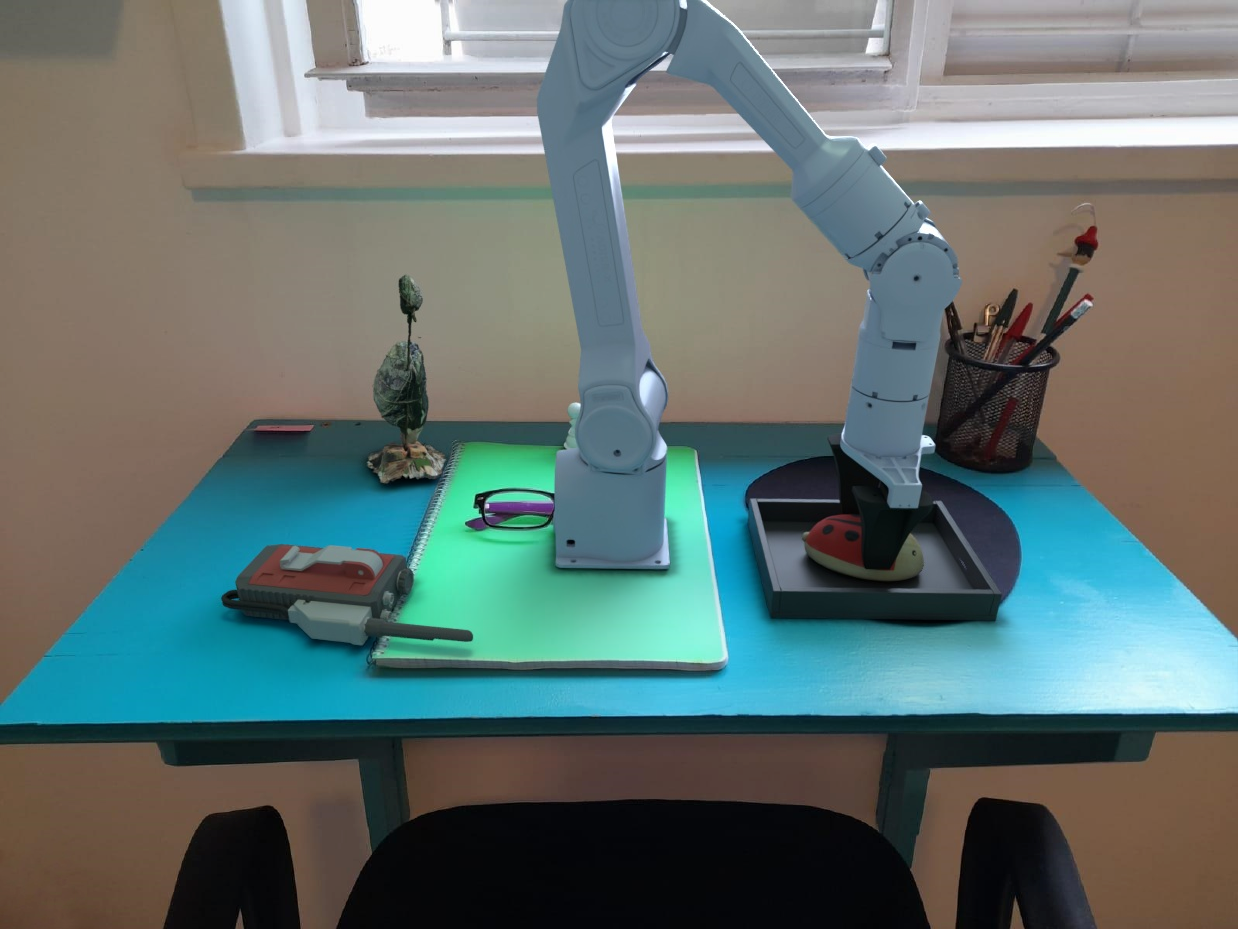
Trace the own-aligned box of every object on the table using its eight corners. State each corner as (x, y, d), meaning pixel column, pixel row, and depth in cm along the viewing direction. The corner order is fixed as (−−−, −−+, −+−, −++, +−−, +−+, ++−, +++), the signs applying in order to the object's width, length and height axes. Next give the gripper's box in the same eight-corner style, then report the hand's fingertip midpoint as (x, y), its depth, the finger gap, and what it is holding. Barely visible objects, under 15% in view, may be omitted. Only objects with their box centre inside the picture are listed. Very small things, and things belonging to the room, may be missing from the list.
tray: (770, 618, 66) (773, 591, 65) (747, 522, 79) (749, 498, 78) (995, 620, 66) (1002, 594, 65) (936, 524, 79) (941, 500, 78)
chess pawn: (583, 454, 90) (582, 410, 88) (559, 449, 91) (558, 405, 89) (595, 443, 93) (595, 400, 90) (571, 438, 94) (570, 396, 91)
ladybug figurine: (921, 595, 68) (929, 557, 67) (795, 573, 71) (799, 536, 69) (922, 551, 74) (929, 515, 72) (805, 532, 77) (809, 496, 75)
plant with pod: (452, 438, 94) (436, 253, 85) (443, 488, 84) (423, 285, 75) (376, 440, 93) (351, 254, 84) (357, 491, 83) (327, 286, 74)
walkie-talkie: (207, 634, 64) (469, 662, 61) (194, 584, 62) (465, 611, 59) (267, 567, 72) (502, 590, 69) (257, 521, 70) (499, 543, 67)
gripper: (978, 428, 59) (942, 593, 65) (915, 354, 72) (889, 498, 78) (873, 427, 59) (847, 592, 65) (829, 353, 72) (811, 497, 78)
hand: (864, 540), depth 71 cm, fingers open, 7 cm apart
